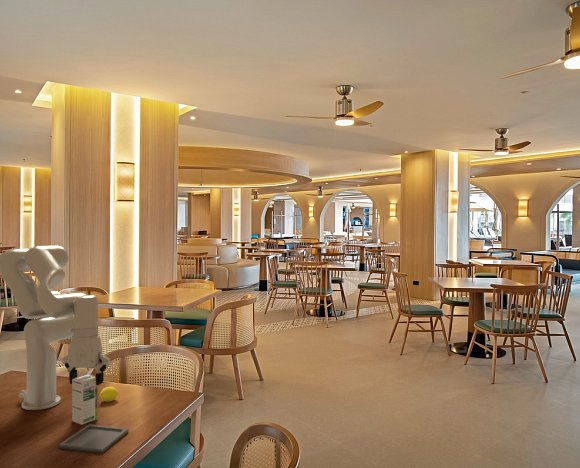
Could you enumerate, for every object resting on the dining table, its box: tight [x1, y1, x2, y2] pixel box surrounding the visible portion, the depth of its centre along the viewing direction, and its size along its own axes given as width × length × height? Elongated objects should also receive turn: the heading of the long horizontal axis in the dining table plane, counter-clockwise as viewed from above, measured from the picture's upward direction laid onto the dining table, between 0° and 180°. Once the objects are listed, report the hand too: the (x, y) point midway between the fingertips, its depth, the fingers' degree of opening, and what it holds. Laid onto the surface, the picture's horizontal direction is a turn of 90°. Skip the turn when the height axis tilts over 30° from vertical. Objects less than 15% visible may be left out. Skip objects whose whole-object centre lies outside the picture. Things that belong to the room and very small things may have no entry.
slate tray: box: [58, 423, 129, 454], centre depth 138 cm, size 14×14×1 cm
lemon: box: [98, 386, 119, 403], centre depth 169 cm, size 7×5×5 cm
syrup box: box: [71, 373, 98, 426], centre depth 152 cm, size 6×6×14 cm
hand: (86, 383), depth 152 cm, fingers open, 9 cm apart
